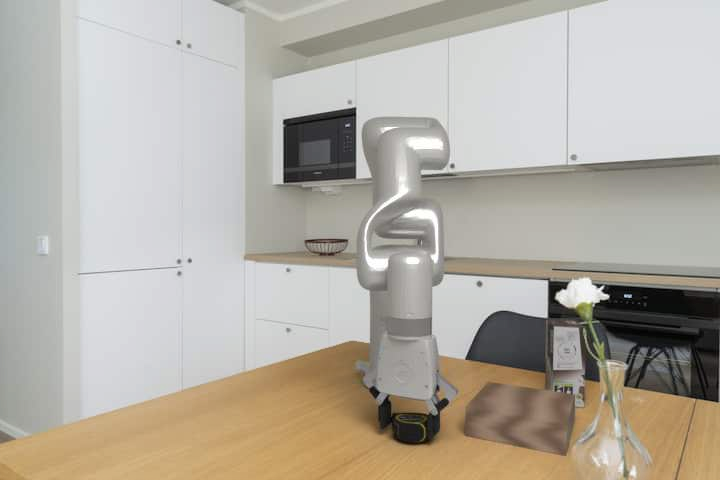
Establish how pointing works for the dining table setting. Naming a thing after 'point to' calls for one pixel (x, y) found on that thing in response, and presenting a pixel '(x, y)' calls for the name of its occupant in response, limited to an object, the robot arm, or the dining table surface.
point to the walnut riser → (522, 417)
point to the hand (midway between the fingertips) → (408, 430)
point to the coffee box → (565, 358)
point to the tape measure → (409, 426)
